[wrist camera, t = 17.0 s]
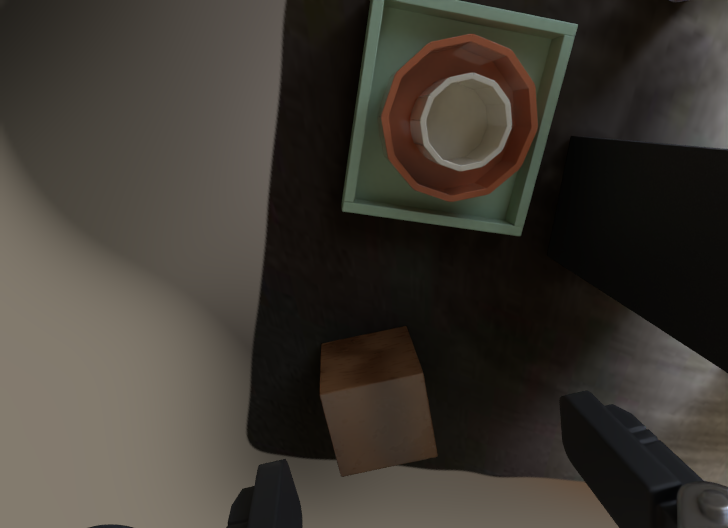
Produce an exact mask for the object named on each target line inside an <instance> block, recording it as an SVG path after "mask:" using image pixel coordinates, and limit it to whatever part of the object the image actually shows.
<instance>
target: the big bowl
mask: <svg viewBox="0 0 728 528" xmlns="http://www.w3.org/2000/svg"><path fill="white" fill-rule="evenodd" d="M467 73H476V74H479V75H481V76H484V77H486V78H489V79H491V80H494V81H495V82H497V83H498V85H499V86H500V88H501V89H502V91H503V92H504V93H505V95H506V96H507V98H508V99H509V100H510V101H509V102H510V105H511V117H512V129H511V131H510V134H509V136H508V139H507V141H506V143H505V146H504V148H503V150H502V151H501V152H500V153H499V154H498V155H497V156H496V157H494V158H493V159H492V160H491V161H490V162H489V163H487V164H486V165H485V166H483V167H481V168H476V169H471V170H466V171H456V170H454V169H451V168H448V167H445V166H442V165H439V164H437V163H435V162H433V161H431V160H428V159H427V158H426V157H425V156H424V155H423V154H422V153H421V152H420V151H419V150H418V148H417V147H416V145H415V144H414V142H413V139H412V136H411V131H410V117H411V112H412V109H413V106H414V104H415V102H416V100H417V98H418V97H419V96H420V95H421V93H422V92H423V91H424V90H425V89H427V88H428V87H429V86H431V85H432V84H433V83H434V82H436V81H439V80H442V79H445V78H448V77H453V76H458V75H462V74H467ZM377 122H378V129H379V137H380V141H381V145H382V150H383V155H384V157H385V158H386V159H387V160H388V162H389V163H390V164H391V165H392V166H393V168H394V169H395V170H396V171H397V172H398V174H399V175H400V176H401V177H402V178H403V180H404V181H405V182H406V183H407V184H408V185H409V186H410V187H411V188H412V189H414V190H415V191H418V192H421V193H424V194H427V195H430V196H433V197H436V198H439V199H442V200H445V201H448V202H455V201H460V200H465V199H469V198H474V197H479V196H484V195H488V194H490V193H491V192H493V191H494V190H495V189H496V188H497V187H499V186H500V185H501V184H502V183H503V182H505V181H506V180H507V179H508V178H509V177H511V176H512V175H513V174H514V173H515V172H517V171H518V170H519V169H520V167H521V166H522V164H523V162H524V160H525V157H526V155H527V153H528V150H529V148H530V146H531V143H532V141H533V139H534V137H535V134H536V132H537V130H538V118H537V103H536V87H535V84H534V82H533V81H532V79H531V78H530V76H529V75H528V73H527V72H526V70H525V69H524V67H523V66H522V64H521V63H520V61H519V60H518V58H517V57H516V55H515V54H514V52H513V51H512V50H511V49H509V48H507V47H504V46H502V45H500V44H497V43H495V42H492V41H490V40H487V39H485V38H483V37H480V36H478V35H475V34H466V35H461V36H456V37H452V38H447V39H442V40H437V41H432V42H429V43H427V44H426V45H425V46H423V47H422V48H421V49H419V50H418V51H417V52H416V53H415V54H414V55H413V56H412V57H411V58H410V59H409V60H407V61H406V62H405V63H404V64H403V65H402V66H401V67H400V68H399V69H398V70H397V71H396V72H394V73H393V74H392V75H391V77H390V78H389V81H388V84H387V87H386V89H385V92H384V94H383V97H382V100H381V104H380V108H379V111H378V114H377Z"/></svg>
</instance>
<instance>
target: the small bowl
mask: <svg viewBox="0 0 728 528" xmlns="http://www.w3.org/2000/svg"><path fill="white" fill-rule="evenodd" d="M509 101H510V100H509V99H508V98H507V96H506V95H505V93H504V92H503V91H502V89H501V88H500V86H499V85H498V83H497V82H495V81H494V80H491V79H489V78H486V77H484V76H481V75H479V74H476V73H467V74H462V75H458V76H453V77H448V78H445V79H442V80H439V81H436V82H434V83H433V84H432V85H431V86H429V87H428V88H427V89H425V90H424V91H423V92H422V93H421V95H420V96H419V97H418V98H417V100H416V102H415V104H414V106H413V109H412V112H411V117H410V131H411V136H412V139H413V142H414V144H415V145H416V147H417V148H418V150H419V151H420V152H421V153H422V154H423V155H424V156H425V157H426V158H427V159H428V160H431V161H433V162H435V163H437V164H439V165H442V166H445V167H448V168H451V169H454V170H456V171H466V170H471V169H476V168H481V167H483V166H485V165H486V164H487V163H489V162H490V161H491V160H492V159H493V158H494V157H496V156H497V155H498V154H499V153H500V152H501V151H502V150H503V148H504V146H505V143H506V141H507V139H508V136H509V134H510V131H511V129H512V117H511V105H510V102H509Z"/></svg>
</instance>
